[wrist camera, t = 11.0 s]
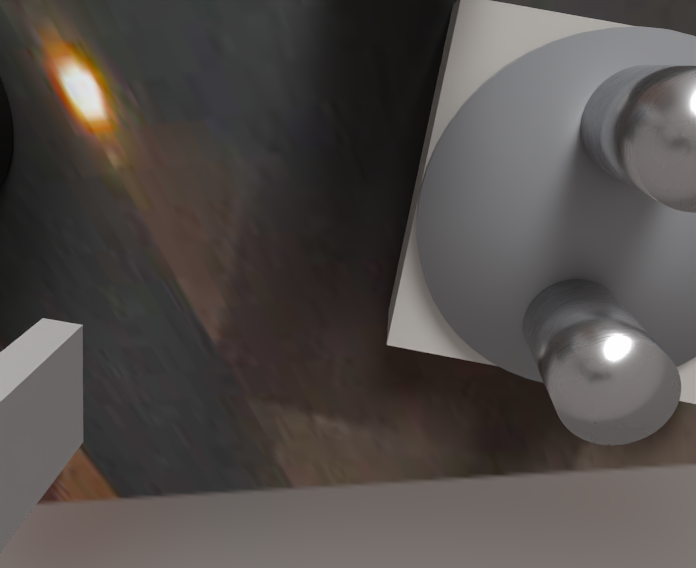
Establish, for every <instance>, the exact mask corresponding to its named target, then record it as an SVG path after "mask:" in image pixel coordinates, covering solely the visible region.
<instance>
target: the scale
mask: <svg viewBox="0 0 696 568" xmlns="http://www.w3.org/2000/svg"><path fill="white" fill-rule="evenodd" d="M638 65H680V66H696V37H695V36H692V35H688V34H684V33H680V32H676V31H672V30H668V29H659V28H650V27H636V26H631V25H625V24H620V23H614V22H608V21H603V20H597V19H591V18H586V17H580V16H575V15H569V14H563V13H558V12H552V11H546V10H541V9H535V8H530V7H524V6H518V5H513V4H507V3H502V2H496V1H490V0H457V1H456V2H455V3H454V4H453V8H452V12H451V17H450V22H449V27H448V31H447V36H446V41H445V45H444V50H443V55H442V60H441V64H440V69H439V74H438V79H437V83H436V88H435V93H434V98H433V102H432V107H431V112H430V116H429V121H428V126H427V131H426V135H425V140H424V145H423V150H422V154H421V159H420V164H419V169H418V173H417V178H416V183H415V188H414V192H413V197H412V202H411V206H410V211H409V216H408V221H407V225H406V230H405V235H404V240H403V244H402V249H401V254H400V259H399V263H398V268H397V273H396V277H395V282H394V287H393V292H392V296H391V301H390V306H389V312H388V329H387V345H389V346H395V347H400V348H405V349H410V350H416V351H421V352H426V353H431V354H437V355H442V356H447V357H452V358H457V359H463V360H468V361H473V362H478V363H484V364H489V365H494V366H499V367H501V368H503V369H505V370H507V371H509V372H511V373H514V374H516V375H519V376H522V377H524V378H527V379H530V380H534V381H538V382H542V383H544V382H543V380H542V377H541V375H540V373H539V370H538V368H537V366H536V364H535V361H534V359H533V357H532V354H531V352H530V350H529V347H528V345H527V343H526V340H525V338H524V333H523V320H524V315H525V313H526V310H527V308H528V306H529V304H530V303H531V301H532V300H533V299H534V298H535V297H536V296H537V294H539V293H540V292H541V291H542V290H544V289H545V288H547V287H548V286H550V285H552V284H554V283H557V282H560V281H564V280H569V279H584V280H590V281H593V282H596V283H598V284H600V285H602V286H604V287H605V288H607V289H608V290H609V291H610V292H611V293H612V294H613V295H614V296H615V297H616V298H617V299H618V300H619V302H620V303H621V304H622V305H623V306H624V307H625V308H626V309H627V311H628V312H629V313H630V314H631V315H632V316H633V317H634V318H635V319H636V321H637V322H638V323H639V324H640V325H641V326H642V327H643V328H644V329H645V331H646V332H647V333H648V334H649V335H650V336H651V337H652V338H653V340H654V341H655V342H656V343H657V344H658V345H659V346H660V347H661V348H662V350H663V351H664V352H665V353H666V354H667V355H668V356H669V357H670V359H671V360H672V361H673V363H674V364H675V366H676V368H677V370H678V372H679V375H680V379H681V395H680V400H679V401H683V402H688V403H693V404H696V213H692V212H684V211H680V210H676V209H673V208H670V207H668V206H666V205H664V204H662V203H660V202H659V201H657V200H655V199H653V198H651V197H650V196H648V195H646V194H644V193H642V192H641V191H639V190H637V189H635V188H633V187H632V186H630V185H628V184H626V183H624V182H623V181H621V180H619V179H617V178H615V177H614V176H612V175H610V174H608V173H606V172H605V171H603V170H601V169H600V168H598V167H597V166H596V165H595V164H594V163H593V162H592V161H591V160H590V159H589V157H588V156H587V154H586V152H585V150H584V148H583V145H582V141H581V135H580V125H581V118H582V114H583V111H584V108H585V106H586V104H587V102H588V100H589V98H590V97H591V95H592V94H593V92H594V91H595V90H596V89H597V87H598V86H599V85H600V84H601V83H602V82H604V81H605V80H606V79H607V78H609V77H610V76H612V75H613V74H615V73H617V72H619V71H621V70H623V69H626V68H629V67H632V66H638Z"/></svg>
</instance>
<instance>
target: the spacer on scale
mask: <svg viewBox="0 0 696 568" xmlns="http://www.w3.org/2000/svg"><path fill="white" fill-rule="evenodd" d="M580 135H581V141H582V145H583V148H584V150H585V152H586V154H587V156H588V157H589V159H590V160H591V161H592V162H593V163H594V164H595V165H596V166H597V167H598V168H600V169H601V170H603V171H605V172H606V173H608V174H610V175H612V176H614V177H615V178H617V179H619V180H621V181H623V182H624V183H626V184H628V185H630V186H632V187H633V188H635V189H637V190H639V191H641V192H642V193H644V194H646V195H648V196H650V197H651V198H653V199H655V200H657V201H659V202H660V203H662V204H664V205H666V206H668V207H670V208H673V209H676V210H680V211H684V212H692V213H696V66H680V65H638V66H632V67H629V68H626V69H623V70H621V71H619V72H617V73H615V74H613V75H612V76H610V77H609V78H607V79H606V80H605V81H604V82H602V83H601V84H600V85H599V86H598V87H597V89H596V90H595V91H594V92H593V94H592V95H591V97H590V98H589V100H588V102H587V104H586V106H585V108H584V111H583V114H582V118H581V125H580Z"/></svg>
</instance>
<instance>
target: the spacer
mask: <svg viewBox="0 0 696 568" xmlns="http://www.w3.org/2000/svg"><path fill="white" fill-rule="evenodd" d="M523 333H524V338H525V340H526V343H527V345H528V347H529V350H530V352H531V354H532V357H533V359H534V361H535V364H536V366H537V368H538V370H539V373H540V375H541V377H542V380H543V382H544V384H545V386H546V389H547V391H548V393H549V396H550V398H551V400H552V403H553V405H554V407H555V409H556V412H557V414H558V416H559V418H560V420H561V421H562V423H563V424H564V425H565V427H566V428H567V429H568V430H569V431H570V432H572V433H573V434H575V435H576V436H577V437H579V438H581V439H583V440H586V441H588V442H591V443H595V444H600V445H623V444H628V443H632V442H635V441H638V440H641V439H643V438H646V437H647V436H649V435H651V434H653V433H654V432H656V431H657V430H658V429H660V428H661V427H662V426H663V425H664V424H665V423H666V422H667V421H668V420H669V419H670V417H671V416H672V414H673V413H674V411H675V409H676V407H677V405H678V403H679V400H680V395H681V379H680V375H679V372H678V370H677V368H676V366H675V364H674V363H673V361H672V360H671V359H670V357H669V356H668V355H667V354H666V353H665V352H664V351H663V350H662V348H661V347H660V346H659V345H658V344H657V343H656V342H655V341H654V340H653V338H652V337H651V336H650V335H649V334H648V333H647V332H646V331H645V329H644V328H643V327H642V326H641V325H640V324H639V323H638V322H637V321H636V319H635V318H634V317H633V316H632V315H631V314H630V313H629V312H628V311H627V309H626V308H625V307H624V306H623V305H622V304H621V303H620V302H619V300H618V299H617V298H616V297H615V296H614V295H613V294H612V293H611V292H610V291H609V290H608V289H607V288H605V287H604V286H602V285H600V284H598V283H596V282H593V281H590V280H584V279H569V280H564V281H560V282H557V283H554V284H552V285H550V286H548V287H547V288H545V289H544V290H542V291H541V292H540V293H539V294H537V296H536V297H535V298H534V299H533V300H532V301H531V303H530V304H529V306H528V308H527V310H526V313H525V315H524V320H523Z"/></svg>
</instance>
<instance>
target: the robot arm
mask: <svg viewBox="0 0 696 568" xmlns="http://www.w3.org/2000/svg"><path fill="white" fill-rule="evenodd" d="M12 142H13V131H12V119H11V112H10V108H9V103H8V99H7V95H6V92H5V89H4V86H3V83H2V81H1V78H0V187H1V185H2V183H3V181H4V179H5V176H6V174H7V170H8V167H9V163H10V159H11V153H12ZM82 443H83V325H80V324H74V323H68V322H62V321H56V320H51V319H45V318H42V319H41V320H40V321H39V322H37V323H36V324H35V325H34V326H33V327H31V328H30V329H29V330H28V331H26V332H25V333H24V334H23V335H21V336H20V337H19V338H18V339H16V340H15V341H14V342H13V343H11V344H10V345H9V346H8V347H7V348H5V349H4V350H3V351H2V352H0V552H1V551H2V549H3V548H4V547H5V545H6V544H7V543H8V541H9V540H10V539H11V537H12V536H13V535H14V533H15V532H16V531H17V529H18V528H19V527H20V525H21V524H22V523H23V521H24V520H25V519H26V517H27V516H28V515H29V513H30V512H31V511H32V509H33V508H34V507H35V505H36V504H37V503H38V501H39V500H40V499H41V497H42V496H43V495H44V493H45V492H46V491H47V489H48V488H49V487H50V486H51V484H52V483H53V482H54V480H55V479H56V478H57V476H58V475H59V474H60V472H61V471H62V470H63V468H64V467H65V466H66V464H67V463H68V462H69V460H70V459H71V458H72V456H73V455H74V454H75V452H76V451H77V450H78V448H79V447H80V446H81V444H82Z"/></svg>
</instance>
